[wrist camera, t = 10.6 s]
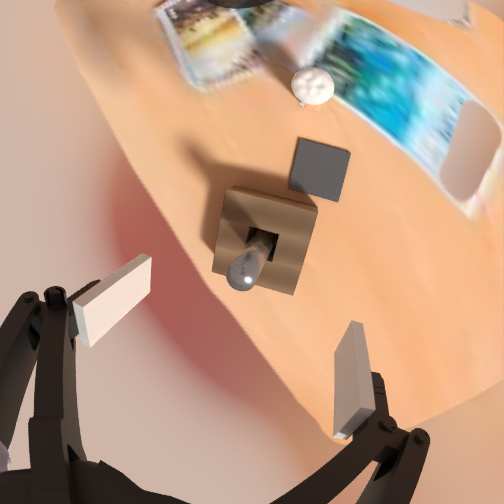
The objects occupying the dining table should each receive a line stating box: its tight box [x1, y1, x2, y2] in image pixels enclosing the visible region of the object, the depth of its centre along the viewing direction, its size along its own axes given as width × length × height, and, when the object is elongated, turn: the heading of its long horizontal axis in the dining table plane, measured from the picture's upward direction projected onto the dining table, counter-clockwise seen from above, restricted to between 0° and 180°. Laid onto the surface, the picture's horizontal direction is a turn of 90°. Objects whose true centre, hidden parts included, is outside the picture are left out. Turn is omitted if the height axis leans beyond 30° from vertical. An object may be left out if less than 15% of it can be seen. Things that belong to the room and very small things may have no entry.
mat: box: [288, 139, 351, 202], centre depth 35 cm, size 7×7×1 cm
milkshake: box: [291, 67, 334, 111], centre depth 27 cm, size 4×5×10 cm
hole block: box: [212, 186, 318, 296], centre depth 38 cm, size 12×12×4 cm
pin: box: [226, 229, 276, 291], centre depth 33 cm, size 3×3×14 cm
